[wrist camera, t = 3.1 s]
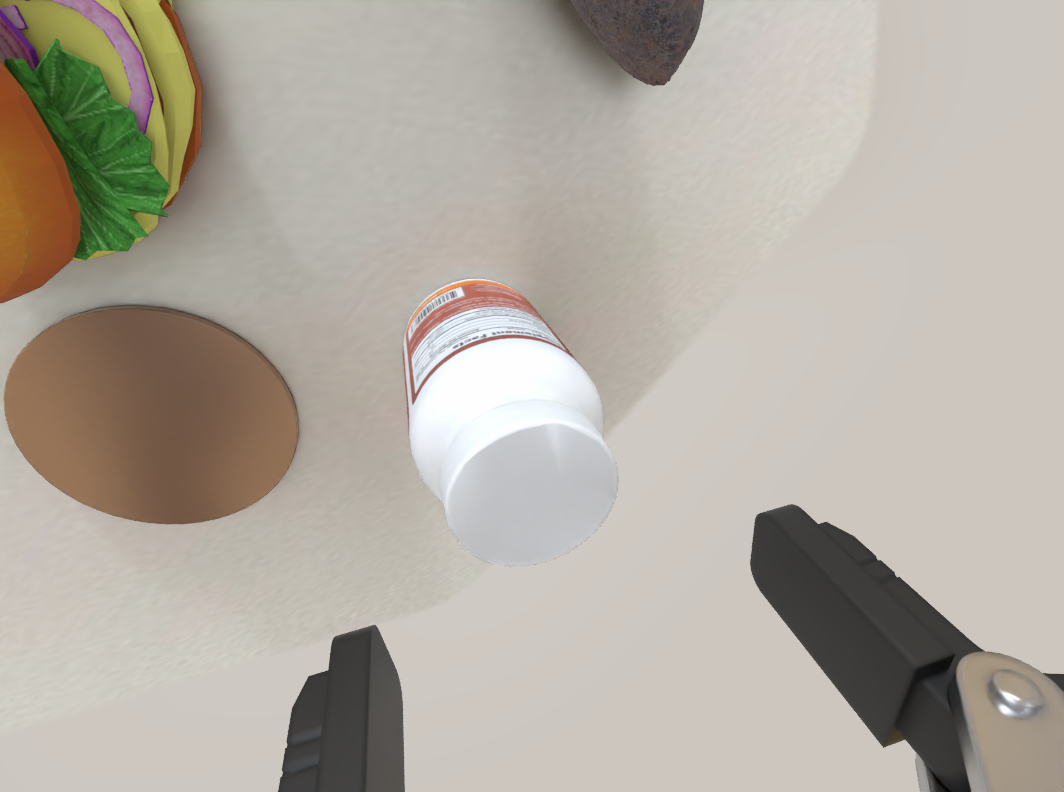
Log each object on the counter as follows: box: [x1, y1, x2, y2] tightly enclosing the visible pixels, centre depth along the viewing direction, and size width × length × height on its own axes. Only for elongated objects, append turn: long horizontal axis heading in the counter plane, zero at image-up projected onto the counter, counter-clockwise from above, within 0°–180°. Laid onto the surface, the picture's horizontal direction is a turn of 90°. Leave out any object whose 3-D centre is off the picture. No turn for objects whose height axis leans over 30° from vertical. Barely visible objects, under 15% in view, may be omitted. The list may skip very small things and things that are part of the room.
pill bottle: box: [403, 279, 618, 566], centre depth 18 cm, size 6×6×11 cm
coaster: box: [4, 306, 298, 524], centre depth 21 cm, size 10×10×1 cm
